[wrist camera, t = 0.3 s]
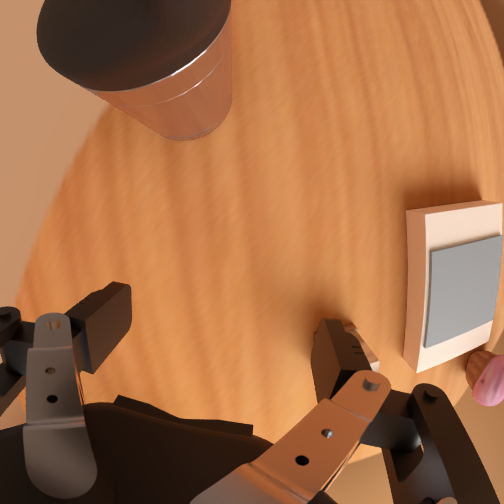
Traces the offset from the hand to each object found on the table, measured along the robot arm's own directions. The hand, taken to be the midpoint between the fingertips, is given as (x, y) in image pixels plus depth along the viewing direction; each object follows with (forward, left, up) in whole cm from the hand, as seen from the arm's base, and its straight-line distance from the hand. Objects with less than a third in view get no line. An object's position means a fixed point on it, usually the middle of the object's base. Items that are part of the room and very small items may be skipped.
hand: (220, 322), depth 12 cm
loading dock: (+10, +27, -19) cm, 35 cm away
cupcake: (+27, +36, -19) cm, 49 cm away
